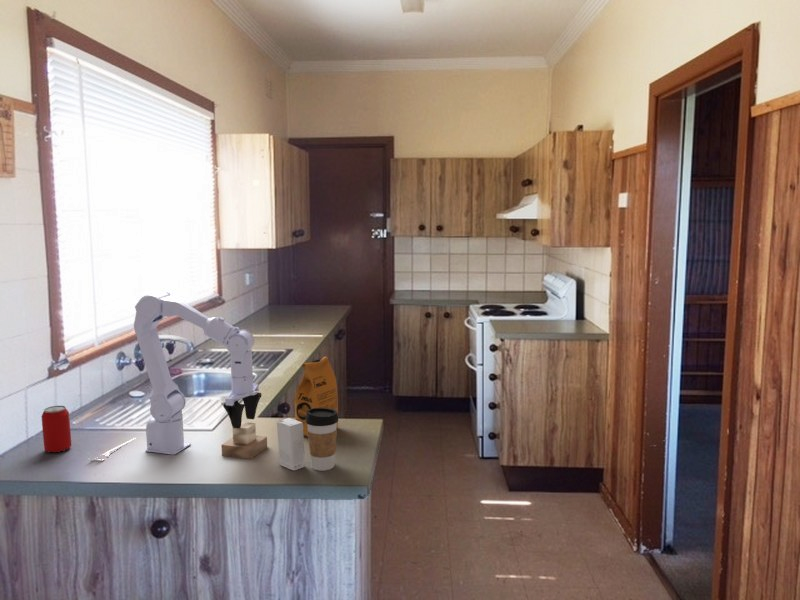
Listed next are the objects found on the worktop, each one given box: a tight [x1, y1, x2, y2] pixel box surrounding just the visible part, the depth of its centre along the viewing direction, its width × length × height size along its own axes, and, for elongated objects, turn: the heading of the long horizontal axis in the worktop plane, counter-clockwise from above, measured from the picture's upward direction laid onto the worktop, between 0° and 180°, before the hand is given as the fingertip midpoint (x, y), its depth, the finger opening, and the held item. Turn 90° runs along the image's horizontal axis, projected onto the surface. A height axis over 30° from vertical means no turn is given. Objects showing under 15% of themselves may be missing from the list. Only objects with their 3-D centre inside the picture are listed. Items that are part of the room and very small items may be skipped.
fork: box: [87, 437, 137, 462], centre depth 179 cm, size 3×20×2 cm, turn 169°
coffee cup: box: [306, 408, 339, 472], centre depth 167 cm, size 8×8×15 cm
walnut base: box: [221, 435, 268, 460], centre depth 178 cm, size 9×9×3 cm
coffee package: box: [294, 356, 339, 438], centre depth 192 cm, size 10×12×22 cm
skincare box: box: [276, 417, 306, 472], centre depth 167 cm, size 6×4×12 cm
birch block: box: [232, 421, 257, 444], centre depth 178 cm, size 4×4×4 cm
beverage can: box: [41, 405, 72, 453], centre depth 179 cm, size 7×7×12 cm
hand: (243, 423), depth 177 cm, fingers open, 7 cm apart
